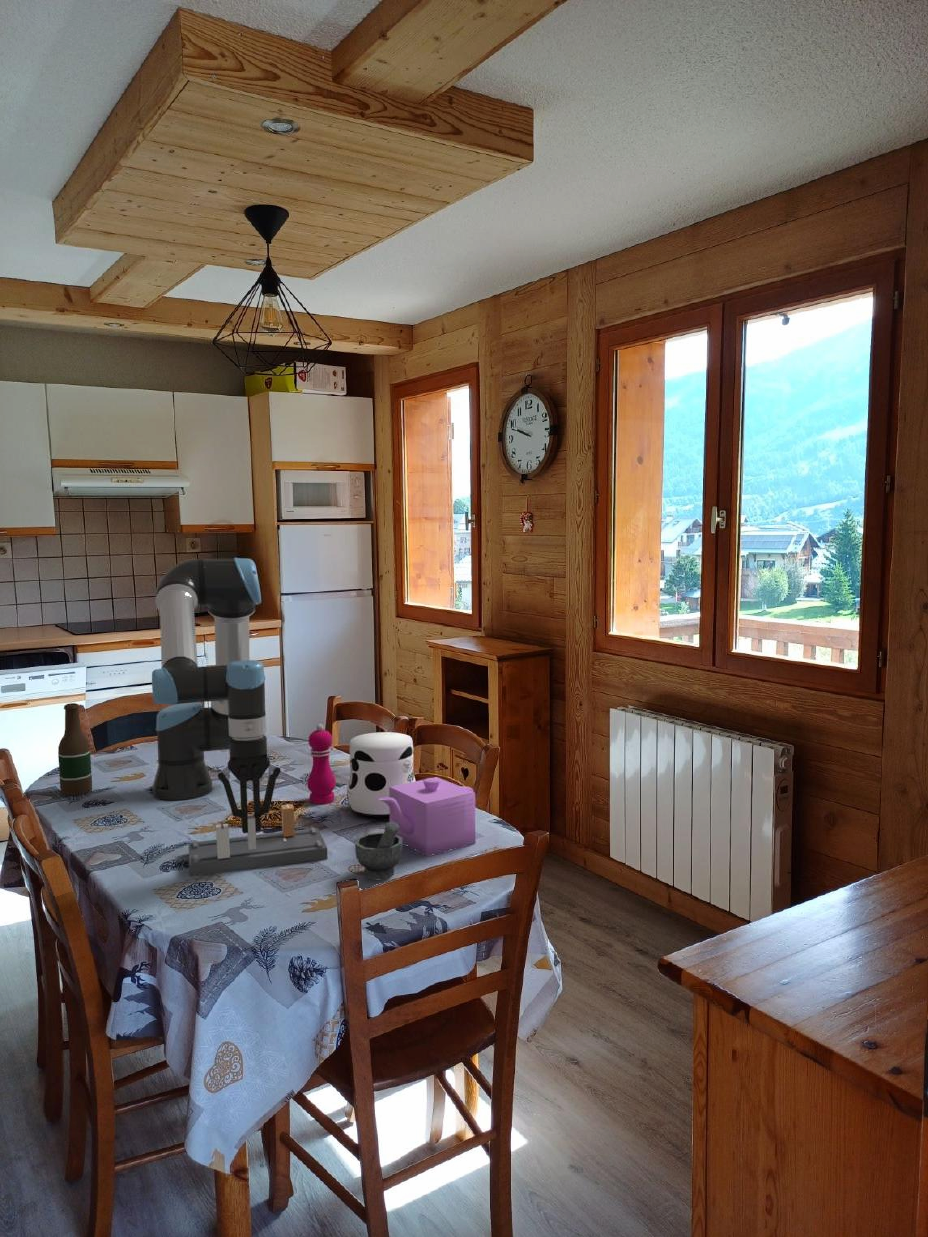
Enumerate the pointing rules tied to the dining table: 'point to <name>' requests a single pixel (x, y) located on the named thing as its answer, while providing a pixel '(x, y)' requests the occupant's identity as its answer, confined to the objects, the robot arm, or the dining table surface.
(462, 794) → the teapot
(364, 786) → the cow-print canister
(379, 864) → the mortar and pestle
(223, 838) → the block
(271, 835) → the console
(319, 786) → the pepper mill
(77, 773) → the beer bottle
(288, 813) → the orange fader
